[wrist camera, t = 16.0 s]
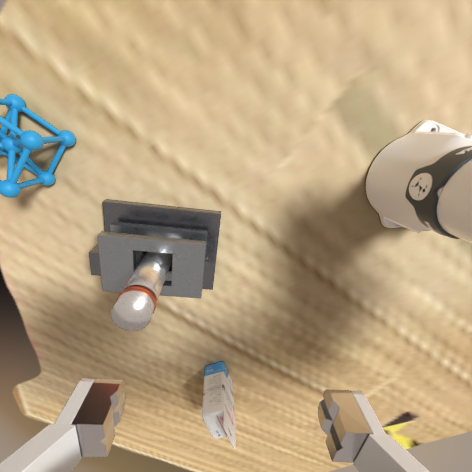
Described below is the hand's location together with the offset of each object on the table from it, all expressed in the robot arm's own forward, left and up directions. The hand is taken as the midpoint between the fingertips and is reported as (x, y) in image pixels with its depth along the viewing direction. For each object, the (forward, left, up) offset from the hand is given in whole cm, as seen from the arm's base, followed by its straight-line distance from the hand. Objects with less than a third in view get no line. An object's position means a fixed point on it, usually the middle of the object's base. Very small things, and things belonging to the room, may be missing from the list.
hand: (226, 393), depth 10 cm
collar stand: (+10, +12, -37) cm, 40 cm away
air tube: (+10, +12, -35) cm, 38 cm away
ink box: (-4, +46, -37) cm, 59 cm away
